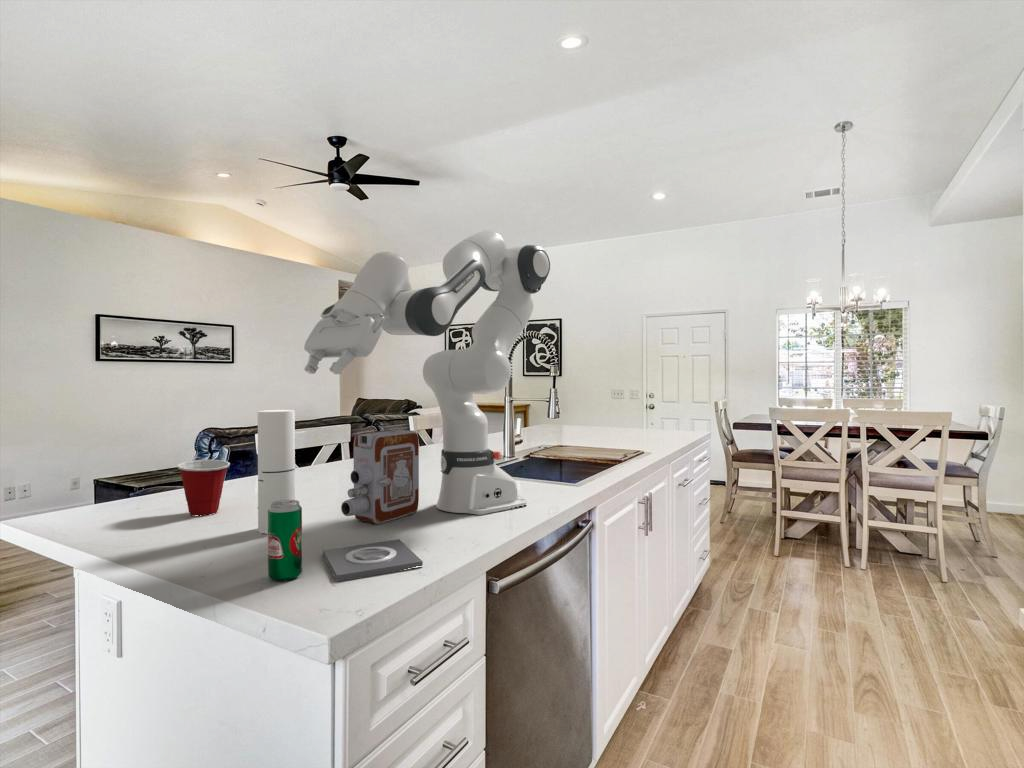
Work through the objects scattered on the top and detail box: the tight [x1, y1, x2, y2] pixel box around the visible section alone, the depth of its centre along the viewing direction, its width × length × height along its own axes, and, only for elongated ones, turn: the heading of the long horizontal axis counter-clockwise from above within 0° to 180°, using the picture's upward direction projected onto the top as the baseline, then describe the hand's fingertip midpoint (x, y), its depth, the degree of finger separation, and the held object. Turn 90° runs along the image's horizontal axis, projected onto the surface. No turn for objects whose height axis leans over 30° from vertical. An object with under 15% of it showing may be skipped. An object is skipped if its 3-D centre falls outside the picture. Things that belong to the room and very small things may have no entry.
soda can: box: [267, 499, 303, 583], centre depth 87 cm, size 5×5×12 cm
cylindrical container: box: [257, 409, 296, 535], centre depth 114 cm, size 7×7×25 cm
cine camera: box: [340, 428, 420, 525], centre depth 122 cm, size 9×19×20 cm, turn 146°
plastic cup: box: [176, 459, 231, 517], centre depth 127 cm, size 11×11×12 cm
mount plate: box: [322, 539, 424, 582], centre depth 94 cm, size 14×14×1 cm
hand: (321, 372), depth 104 cm, fingers open, 8 cm apart
